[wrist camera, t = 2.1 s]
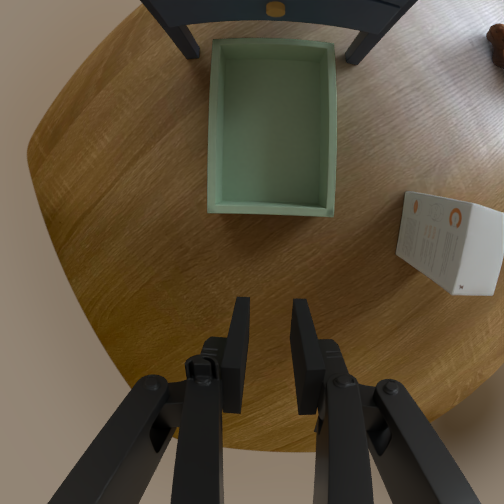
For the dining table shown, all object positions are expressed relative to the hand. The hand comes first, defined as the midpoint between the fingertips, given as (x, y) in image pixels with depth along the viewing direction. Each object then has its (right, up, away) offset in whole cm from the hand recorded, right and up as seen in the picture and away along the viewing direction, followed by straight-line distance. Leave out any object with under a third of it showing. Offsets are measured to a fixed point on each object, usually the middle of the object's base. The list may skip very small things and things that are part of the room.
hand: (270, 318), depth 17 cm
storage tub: (+1, +17, +12) cm, 21 cm away
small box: (+20, +7, +14) cm, 26 cm away
